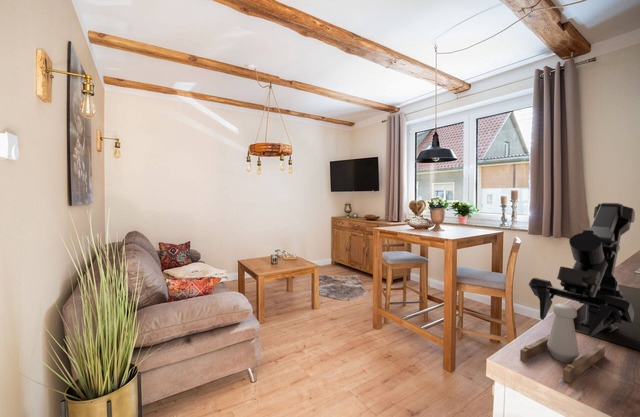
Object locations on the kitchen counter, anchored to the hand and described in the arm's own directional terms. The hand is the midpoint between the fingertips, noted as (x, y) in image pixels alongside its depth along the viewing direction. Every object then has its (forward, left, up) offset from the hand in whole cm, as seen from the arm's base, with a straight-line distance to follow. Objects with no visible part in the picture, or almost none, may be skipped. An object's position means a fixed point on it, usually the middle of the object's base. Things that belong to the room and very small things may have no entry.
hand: (564, 326), depth 67 cm
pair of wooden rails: (0, 0, -8) cm, 8 cm away
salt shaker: (0, 0, -8) cm, 8 cm away
